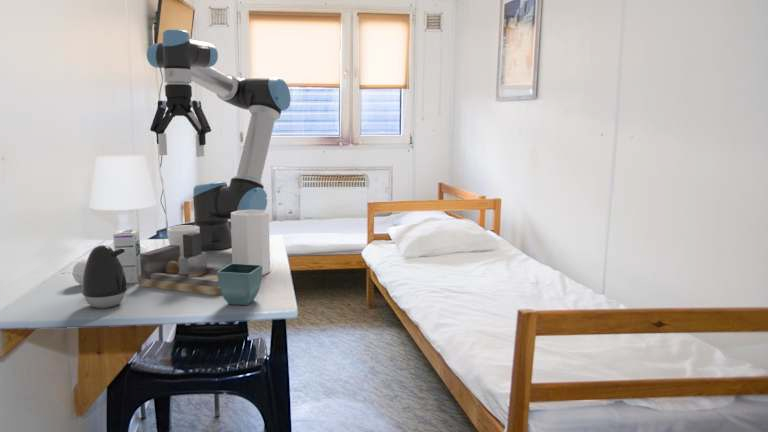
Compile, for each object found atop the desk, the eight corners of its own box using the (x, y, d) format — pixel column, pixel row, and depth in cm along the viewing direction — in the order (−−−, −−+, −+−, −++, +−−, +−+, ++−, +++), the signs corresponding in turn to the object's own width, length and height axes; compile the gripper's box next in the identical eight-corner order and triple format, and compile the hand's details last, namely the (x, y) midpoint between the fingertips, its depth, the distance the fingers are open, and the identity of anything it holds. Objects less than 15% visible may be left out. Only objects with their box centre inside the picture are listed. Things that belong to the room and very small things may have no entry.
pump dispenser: (120, 311, 148) (116, 249, 146) (76, 311, 147) (71, 250, 145) (134, 298, 158) (130, 241, 156) (92, 299, 157) (88, 241, 155)
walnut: (171, 272, 177) (170, 258, 176) (182, 273, 175) (182, 260, 175) (162, 275, 173) (161, 261, 172) (173, 277, 172) (173, 263, 171)
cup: (267, 277, 180) (266, 214, 177) (229, 277, 179) (227, 215, 176) (272, 267, 191) (270, 209, 188) (235, 268, 190) (233, 209, 187)
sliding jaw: (179, 278, 168) (177, 236, 166) (198, 271, 176) (196, 230, 174) (188, 279, 167) (186, 236, 165) (207, 272, 175) (205, 231, 173)
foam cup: (191, 274, 183) (189, 231, 181) (163, 272, 185) (161, 230, 183) (206, 266, 192) (204, 225, 190) (179, 264, 194) (177, 224, 192)
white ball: (105, 280, 175) (103, 255, 174) (99, 287, 168) (97, 261, 167) (67, 282, 173) (65, 257, 172) (59, 289, 166) (57, 263, 165)
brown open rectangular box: (139, 285, 170) (137, 254, 169) (172, 273, 183) (170, 244, 182) (218, 295, 161) (217, 262, 160) (247, 282, 174) (246, 251, 173)
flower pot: (251, 308, 150) (250, 273, 149) (217, 306, 152) (216, 271, 150) (264, 298, 159) (263, 264, 158) (231, 296, 160) (230, 263, 159)
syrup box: (138, 283, 173) (135, 232, 170) (116, 284, 172) (112, 233, 169) (142, 278, 178) (139, 229, 176) (121, 278, 177) (118, 229, 175)
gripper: (135, 84, 183) (139, 155, 186) (205, 82, 174) (208, 157, 178) (152, 85, 190) (156, 154, 193) (221, 84, 181) (223, 156, 184)
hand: (181, 155), depth 185 cm, fingers open, 13 cm apart
